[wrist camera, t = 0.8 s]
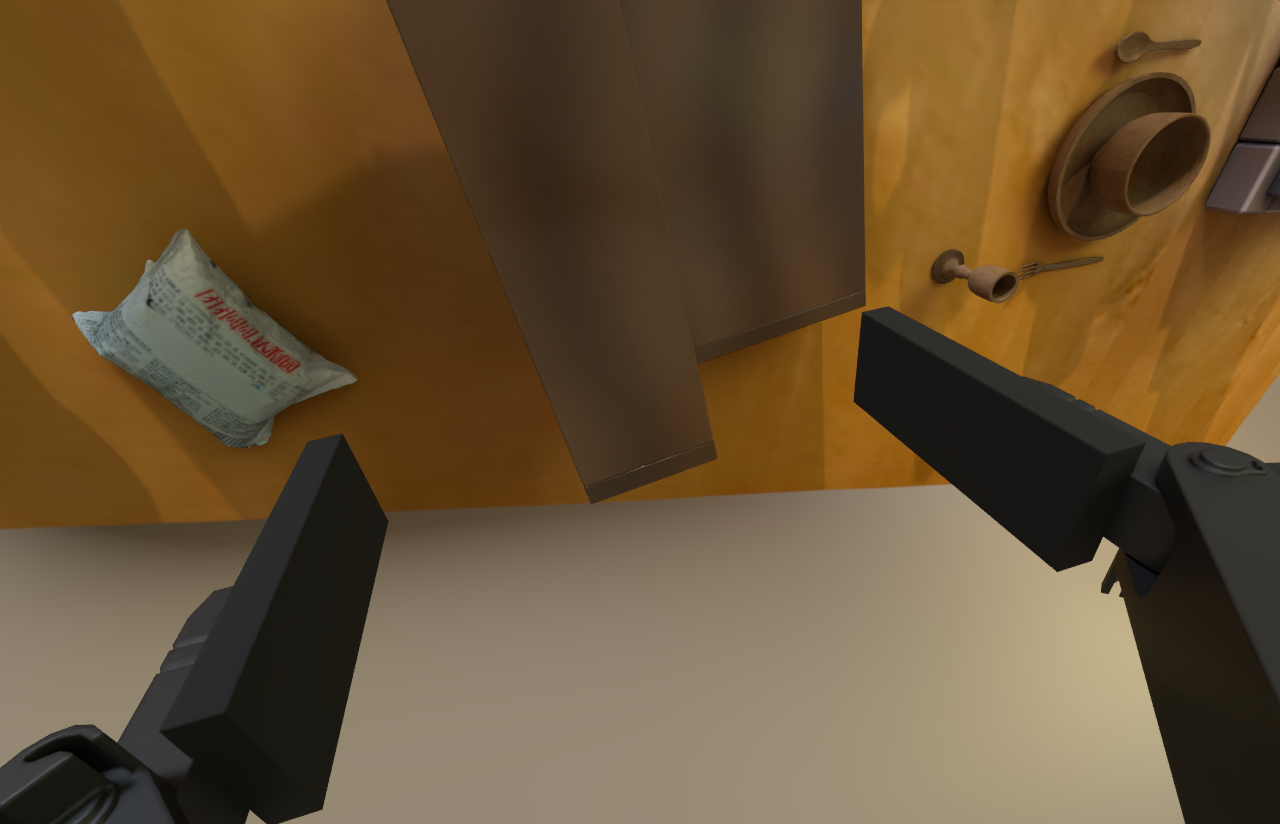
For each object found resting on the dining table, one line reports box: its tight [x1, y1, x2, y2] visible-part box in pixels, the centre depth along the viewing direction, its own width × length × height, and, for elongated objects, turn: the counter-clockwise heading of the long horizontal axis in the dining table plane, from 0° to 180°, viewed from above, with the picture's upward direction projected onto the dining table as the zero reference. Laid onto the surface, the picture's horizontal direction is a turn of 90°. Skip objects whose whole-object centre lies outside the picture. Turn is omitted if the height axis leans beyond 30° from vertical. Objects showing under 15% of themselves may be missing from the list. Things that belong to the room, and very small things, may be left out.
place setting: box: [932, 31, 1210, 303], centre depth 40 cm, size 18×20×6 cm
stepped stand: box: [386, 0, 866, 504], centre depth 28 cm, size 22×27×16 cm
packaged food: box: [71, 229, 357, 448], centre depth 32 cm, size 9×12×5 cm
